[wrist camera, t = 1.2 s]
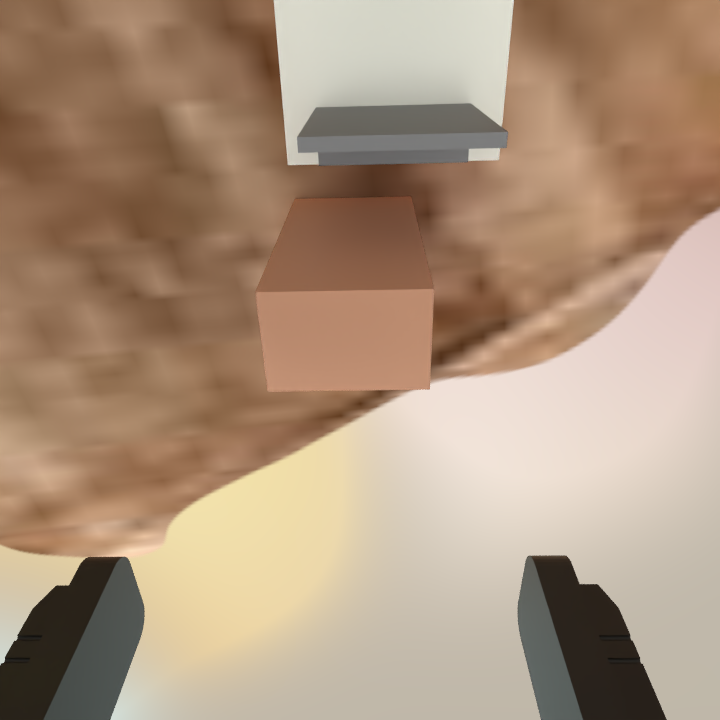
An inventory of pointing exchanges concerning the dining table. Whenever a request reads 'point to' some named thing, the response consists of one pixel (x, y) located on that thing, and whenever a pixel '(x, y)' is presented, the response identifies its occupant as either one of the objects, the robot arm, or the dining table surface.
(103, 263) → the dining table surface
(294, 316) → the terracotta block
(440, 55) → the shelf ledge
